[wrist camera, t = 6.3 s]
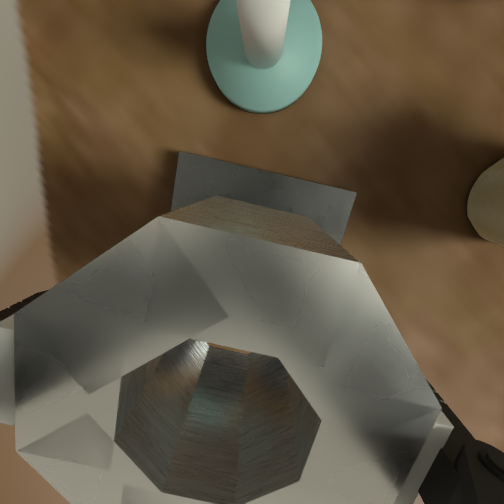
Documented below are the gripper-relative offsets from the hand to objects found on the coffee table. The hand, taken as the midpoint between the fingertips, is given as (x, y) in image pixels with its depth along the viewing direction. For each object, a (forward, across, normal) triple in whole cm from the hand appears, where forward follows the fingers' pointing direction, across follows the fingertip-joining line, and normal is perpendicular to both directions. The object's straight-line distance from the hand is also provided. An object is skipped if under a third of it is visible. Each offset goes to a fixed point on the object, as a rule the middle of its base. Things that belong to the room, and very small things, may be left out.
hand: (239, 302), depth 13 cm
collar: (-1, 0, 0) cm, 1 cm away
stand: (+9, -2, +13) cm, 16 cm away
